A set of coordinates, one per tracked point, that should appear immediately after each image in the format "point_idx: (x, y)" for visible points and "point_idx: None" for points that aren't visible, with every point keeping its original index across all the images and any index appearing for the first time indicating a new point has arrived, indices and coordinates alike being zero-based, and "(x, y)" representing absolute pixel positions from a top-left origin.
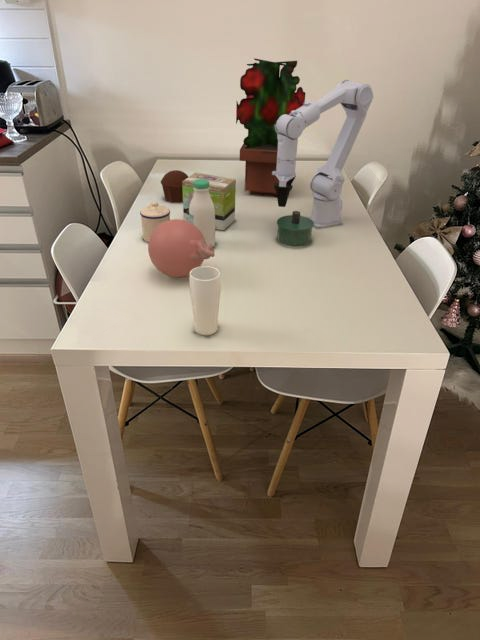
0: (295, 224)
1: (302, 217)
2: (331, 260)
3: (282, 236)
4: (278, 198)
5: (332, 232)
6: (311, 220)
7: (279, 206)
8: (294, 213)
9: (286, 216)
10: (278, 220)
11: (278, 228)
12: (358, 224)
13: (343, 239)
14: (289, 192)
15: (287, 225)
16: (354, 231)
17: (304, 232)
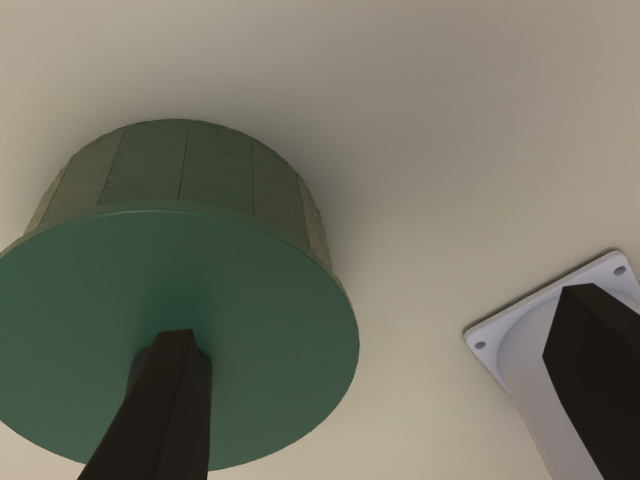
0: (113, 379)
1: (317, 390)
2: (14, 455)
3: (30, 226)
4: (102, 466)
5: (408, 401)
6: (272, 448)
7: (156, 344)
8: None
9: (295, 273)
10: (134, 224)
11: (85, 199)
12: (535, 467)
13: (323, 451)
14: (588, 449)
15: (40, 331)
16: (441, 469)
17: None
